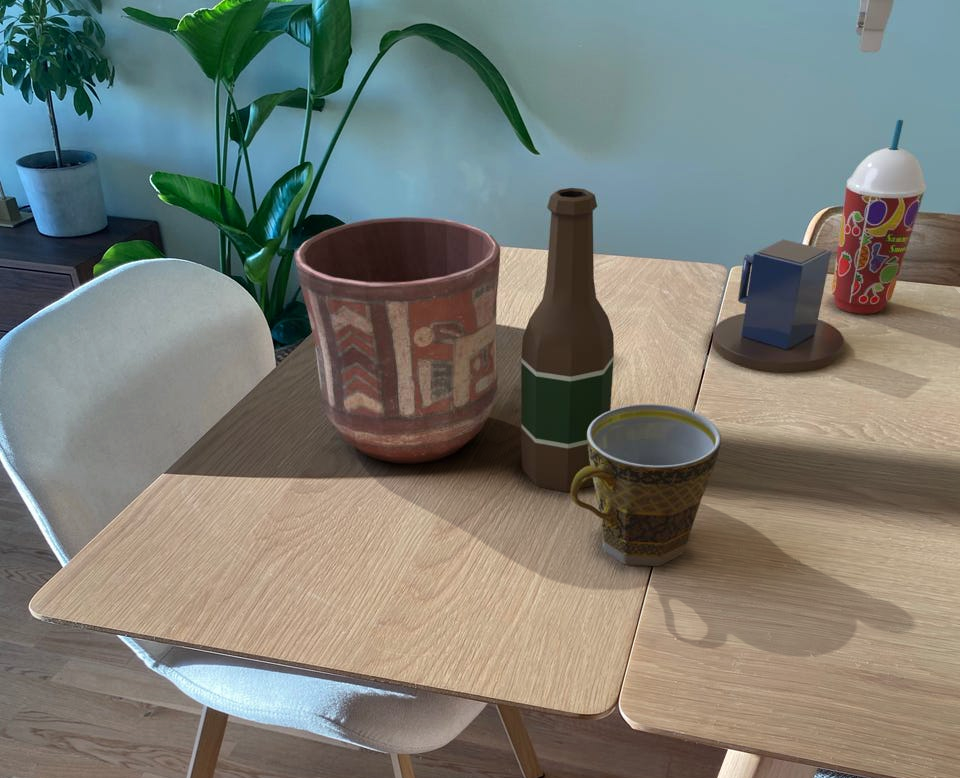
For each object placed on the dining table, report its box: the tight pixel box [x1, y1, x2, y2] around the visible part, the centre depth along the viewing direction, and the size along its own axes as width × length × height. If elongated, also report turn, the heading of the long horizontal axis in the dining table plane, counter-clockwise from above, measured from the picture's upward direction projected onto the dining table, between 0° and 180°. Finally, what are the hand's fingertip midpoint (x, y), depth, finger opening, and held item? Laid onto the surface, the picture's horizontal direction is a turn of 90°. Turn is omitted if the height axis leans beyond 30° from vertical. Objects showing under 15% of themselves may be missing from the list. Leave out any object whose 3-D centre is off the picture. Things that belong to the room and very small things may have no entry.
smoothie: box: [831, 119, 927, 315], centre depth 110 cm, size 8×8×20 cm
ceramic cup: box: [570, 403, 722, 567], centre depth 76 cm, size 13×10×10 cm
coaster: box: [712, 312, 845, 374], centre depth 108 cm, size 14×14×1 cm
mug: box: [737, 239, 832, 350], centre depth 106 cm, size 8×6×9 cm
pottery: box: [294, 216, 501, 465], centre depth 89 cm, size 18×18×18 cm
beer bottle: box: [520, 187, 615, 493], centre depth 81 cm, size 8×8×24 cm
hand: (866, 42), depth 93 cm, fingers open, 8 cm apart
